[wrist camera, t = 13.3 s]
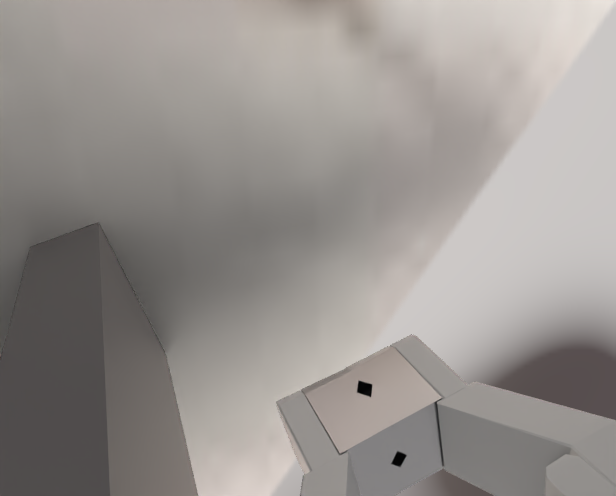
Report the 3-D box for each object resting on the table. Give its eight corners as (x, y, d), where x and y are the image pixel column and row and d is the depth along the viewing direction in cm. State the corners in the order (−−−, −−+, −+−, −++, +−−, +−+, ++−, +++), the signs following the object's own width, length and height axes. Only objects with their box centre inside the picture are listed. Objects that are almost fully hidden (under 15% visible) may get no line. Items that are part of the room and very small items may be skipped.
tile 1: (111, 378, 15) (132, 738, 7) (30, 247, 12) (-62, 589, 5) (165, 354, 15) (238, 671, 8) (98, 222, 13) (110, 503, 5)
